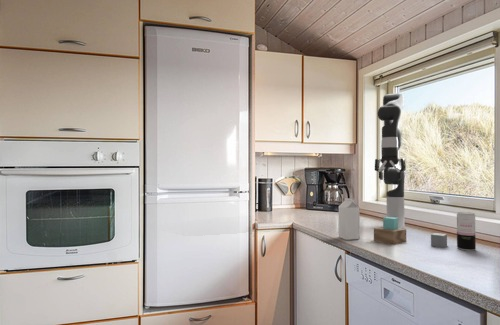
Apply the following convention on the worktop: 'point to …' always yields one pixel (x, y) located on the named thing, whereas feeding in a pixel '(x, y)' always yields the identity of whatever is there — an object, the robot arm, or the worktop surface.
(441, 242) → the gray cube
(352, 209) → the milk carton
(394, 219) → the teal cube
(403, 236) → the walnut base block
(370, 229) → the worktop surface
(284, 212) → the worktop surface
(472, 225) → the white and black canister
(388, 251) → the worktop surface
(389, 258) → the worktop surface
